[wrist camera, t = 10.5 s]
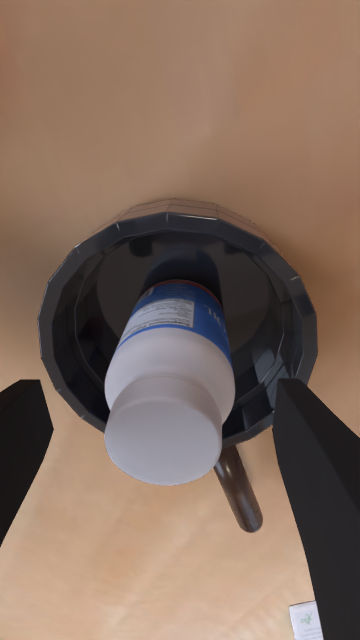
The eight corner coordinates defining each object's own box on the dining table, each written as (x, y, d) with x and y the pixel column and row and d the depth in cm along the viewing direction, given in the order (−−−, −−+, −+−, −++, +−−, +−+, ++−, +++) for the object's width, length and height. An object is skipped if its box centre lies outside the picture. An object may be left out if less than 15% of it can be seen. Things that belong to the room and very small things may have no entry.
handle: (197, 419, 21) (197, 441, 19) (225, 412, 21) (227, 434, 19) (239, 515, 25) (242, 540, 23) (263, 511, 25) (267, 536, 23)
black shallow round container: (146, 427, 25) (135, 480, 21) (24, 273, 20) (-21, 304, 16) (326, 354, 21) (355, 402, 17) (232, 145, 16) (242, 143, 12)
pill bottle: (230, 352, 21) (251, 497, 12) (145, 362, 22) (108, 507, 13) (218, 267, 18) (234, 373, 10) (123, 283, 19) (59, 394, 10)
